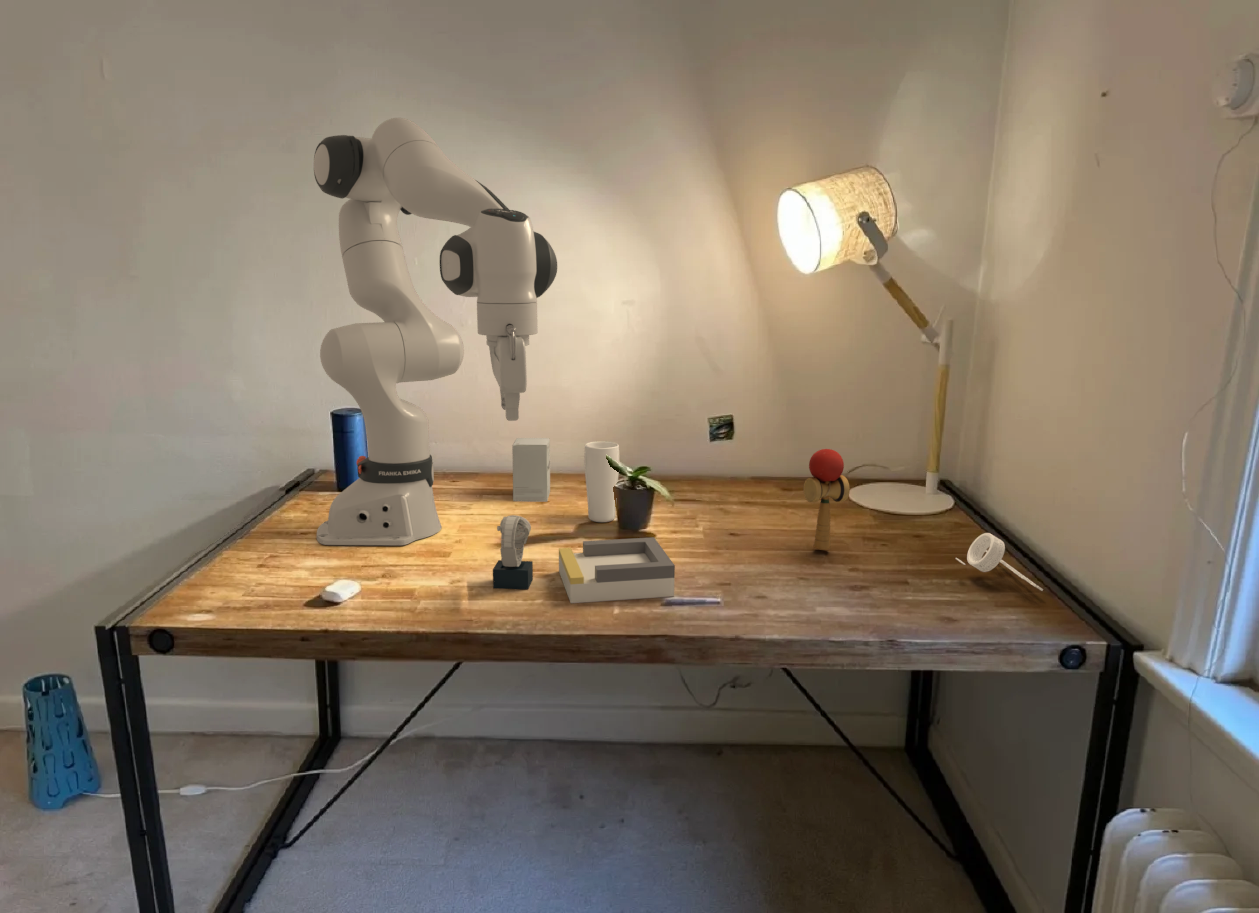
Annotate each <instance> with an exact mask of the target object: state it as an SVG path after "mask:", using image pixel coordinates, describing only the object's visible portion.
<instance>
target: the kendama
mask: <svg viewBox="0 0 1259 913" xmlns="http://www.w3.org/2000/svg"><path fill="white" fill-rule="evenodd" d="M844 467H845V464H844V460H843V457H842V456H841V454H840V453H839V452H838V451H836V450H835V449H832V448H831V449H830V448H822V449H819V450H817V451H816V452H814V453H813V454H812V455H811V457H810V458H809V462H808V469H809V472H810V474H811V476H812V477H808V478H807V479H805V481H804V484H803V489H802V490H803V494H804V498H805V500H806V501H807V502H808V503H811V504H812V503H817V502H819V501H820V503H819V507H818V513H817V520H816V529H815V536H814V542H813V549H816V550H817V551H818V550H819V551H828V550H830V549H831V508H830V506H831V505H830V498H831V499H832V500H833V501H834V502H836V503H841V502H842V503H843V502H845V501H847V499H849V496H850V492H851V491H850V490H851V489H850V483H849V480H848V478H846V476H845V475H843V472H844Z"/></svg>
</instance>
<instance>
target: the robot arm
mask: <svg viewBox="0 0 1259 913" xmlns="http://www.w3.org/2000/svg"><path fill="white" fill-rule="evenodd" d="M313 175H314V179H315V182H316V184H317V186H318V187H319V188H320V190H321V191H322V192H323V194H324V193H325V194H327V195H329V196H331V197H334V198H337V199H349V200H347V201H346V202H344V203H343V205H342V206H341V207H340V210H339V213H338V237H339V238H338V239H339V248H340V252H341V259H342V263H343V264H342V265H343V268H344V273H345V277H346V281H347V282H346V283H347V288H348V292H349V294H350V297H351V299H353V301H354V302H355V304H357V305H358V306H359V307H361V308H362V309H364V310H366V311H369V312H371V313H373V314H374V315H376V316H377V317H378V318H380V319H381V320H382V321H381V322H378V321H377V322H357V323H356V322H355V323H351V324H347V325H343V326H338V327H336V328H331V329H330V330H328V332H327V333H326V334H325V336H324V338H323V339H322V342H321V345H320V351H319V357H320V362H321V367H322V368H323V371H324V372H325V374H326V375H327V376H328V377H329V379H331V381H333V382H334V383H336V384H337V385H339V386H341V387H342V388H343V389H345V391H347V392H348V393H349V394H350V395H351V397H352V398H353V400H355V402H356V403H357V405H358V407H359V409H360V412H361V414H362V417H363V422H364V425H365V433H366V441H367V443H366V444H367V452H368V455H367V457H366V456H365V455H360V456H358V458H357V459H356V467H357V469H356V471H357V477H358V478H357V479H356V480H355V481H354V482H352V483H351V484H350V485H348V486H347V487H346V488H345V489H343V490H342V491H341V492H339V493H338V495H337V496H335V498H334V499H333V500H332V502H331V504H330V507H329V512H328V516H327V520H326V521H324V522H322V523H321V524H320V525H319V526H318V528H317V530H316V540H317V542H318V543H319V544H321V545H326V546H406V545H408V544H410V543H413V542H414V541H417V540H421V539H426V538H428V537H431V536H434V535H436V534H437V533H439V532H440V531H441V529H442V527H443V526H442V524H441V522H440V518H439V515H438V511H437V508H436V502H435V497H434V491H433V485H434V480H435V478H434V476H435V475H434V474H435V472H434V462H433V456H432V455H431V454H430V450H431V449H430V430H429V428H430V427H429V419H428V416H427V414H426V413H425V411H424V410H423V409H422V408H421V407H419V406H417V405H416V404H414V403H412V402H409V401H407V400H404V399H402V398H400V397H399V395H398V392H397V384H399V383H400V384H401V383H409V382H410V383H412V382H413V383H414V382H426V381H427V382H428V381H434V380H437V379H438V380H439V379H441V378H445V377H448V376H451V375H453V374H456V373H457V372H458V370H459V368H460V367H461V366H462V363H463V359H464V355H465V348H464V347H465V346H464V341H463V339H462V336H461V334H460V333H459V332H458V331H459V330H457V329H456V328H455V326H453V325H452V324H450V323H449V322H447V321H445V320H443V319H442V318H441V317H439V316H438V315H437V314H435V313H434V312H433V311H432V310H431V309H430V308H429V307H428V306H427V305H426V304H425V302H423V300H422V299H421V297H420V295H419V294H418V292H417V290H416V288H415V286H414V284H413V281H412V278H411V275H410V271H409V268H408V263H407V261H406V256H405V252H404V247H403V243H402V240H401V236H400V232H399V229H398V216H399V213H400V211H401V213H403V214H404V215H406V216H407V215H409V216H410V215H414V216H417V217H420V218H422V219H423V218H424V219H429V220H435V221H445V222H450V223H455V224H459V225H463V226H466V227H469V228H467V229H466V230H464V231H462V232H461V233H460V234H453V235H452V236H450V238H448V240H447V241H446V242H445V244H444V245H443V246H442V248H441V250H440V252H439V272H440V278H441V281H442V283H444V285H445V286H446V287H447V289H448V290H449V291H450V292H452V293H453V294H454V295H456V296H461V297H463V298H476V319H477V320H476V322H477V325H476V326H477V334H478V335H481V336H486V337H485V338H486V345H487V346H488V347H489V348H488V349H489V355H490V363H491V369H492V373H493V376H494V378H495V381H496V382H497V385H498V387H499V394H500V407H501V409H502V410H505V418H506V421H509V422H513V421H518V420H519V419H520V418H519V417H520V416H519V412H520V411H519V409H520V406H519V405H520V399H521V398H520V397H521V394H522V393H526V392H527V386H528V385H527V384H528V380H527V357H526V356H527V355H526V354H527V352H526V347H527V346H529V345H530V336H533V335H536V334H538V298H540V297H542V296H543V294H545V293H546V292H547V291H548V289H549V288H550V287H551V286H552V284H553V283H554V281H555V279H556V277H557V273H558V259H557V255H556V253H555V250H554V248H553V247H552V245H551V244H550V242H549V241H548V240H547V239H546V238H545V237H544V236H543V235H542V234H541V233H539V232H536V231H534V226H533V224H532V220H531V217H529V216H528V215H527V214H526V213H524V212H522V211H518V210H515V209H514V210H513V209H510V208H509V207H507V205H506V204H505V203H504V202H502V201H501V200H500V198H499V197H498V196H497V195H495V194H494V193H493V192H492V191H491V190H490V189H489V188H488V187H486V186H485V185H484V184H482V183H481V182H480V181H479V180H476V179H474V178H473V177H472V176H471V175H470V174H468V173H466V172H465V171H464V170H462V169H461V168H460V167H459V166H457V165H456V164H455V163H454V162H453V161H451V159H450V158H448V157H447V155H446V154H445V153H444V152H443V150H442V149H441V148H440V146H439V145H438V144H437V142H435V140H434V139H433V138H432V137H431V136H430V135H429V134H428V133H427V132H426V131H425V130H424V129H423V128H422V127H420V126H419V125H418V124H416V123H415V122H414V121H412V120H410V119H408V118H404V117H393V118H389V119H387V120H384V121H383V122H381V123H380V124H379V125H378V126H377V127H376V128H375V130H374V131H373V134H372V136H371V137H370V138H369V137H360V136H359V137H358V136H354V135H347V134H346V135H345V134H340V135H331V136H327V137H325V138H323V139H322V140H321V141H320V142H319V143H318V144H317V146H316V148H315V151H314V157H313Z"/></svg>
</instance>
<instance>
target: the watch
mask: <svg viewBox="0 0 1259 913" xmlns="http://www.w3.org/2000/svg"><path fill="white" fill-rule="evenodd" d="M531 528H532V525H531V523H530V521H528V519H527V518H525V517H523V516H520V515H515V514H512V515H508V516H503V517H502V519H501V521H500V524H499V525H497V527H496V530H497V531H498V532H500V534H501V535H500V536H501V537H500V544H501V547H500V555H501V556H500V557H501V558H500V559H499V560H497V562H496V564H495V565H494V567H493V569H492V587H493V589H499V590H500V589H506V590H507V589H508V590H529V588H530V587H531V585H532V582H533V581H534V571H533V570H534V568H533V567H534V564H533V563H534V562H533V561H532V560H530V561H529V560H523V556H524V548H525V544H527V542H528V538H529V536H530V533H531V530H532V529H531Z"/></svg>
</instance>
